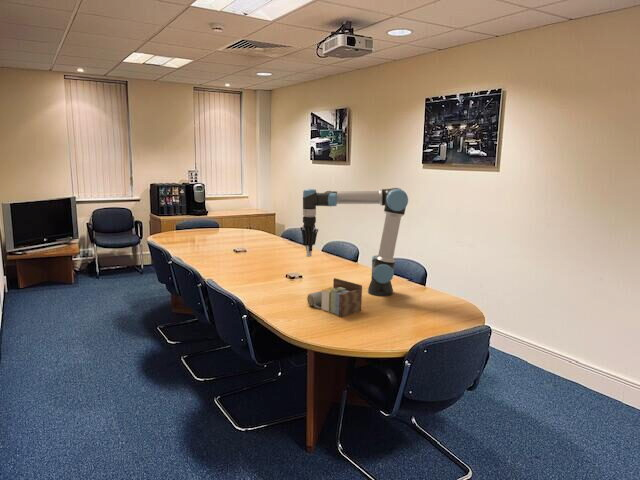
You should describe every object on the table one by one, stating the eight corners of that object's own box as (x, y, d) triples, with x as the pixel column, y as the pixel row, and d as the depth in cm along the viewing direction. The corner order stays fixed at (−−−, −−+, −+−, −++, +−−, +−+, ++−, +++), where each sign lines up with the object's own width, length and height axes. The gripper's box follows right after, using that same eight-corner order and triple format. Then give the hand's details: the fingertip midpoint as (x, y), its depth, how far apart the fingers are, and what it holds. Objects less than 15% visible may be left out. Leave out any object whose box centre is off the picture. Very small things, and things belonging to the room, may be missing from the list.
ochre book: (330, 306, 261) (331, 287, 259) (338, 308, 257) (339, 289, 256) (321, 309, 255) (321, 289, 253) (328, 311, 251) (329, 292, 250)
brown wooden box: (334, 302, 269) (335, 278, 266) (361, 310, 255) (362, 285, 252) (313, 308, 257) (313, 283, 255) (340, 317, 243) (341, 291, 241)
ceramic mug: (306, 304, 263) (306, 291, 262) (319, 302, 267) (319, 289, 266) (315, 310, 254) (315, 296, 253) (328, 308, 258) (328, 294, 256)
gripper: (296, 215, 273) (296, 255, 277) (312, 217, 264) (312, 259, 268) (306, 214, 278) (306, 253, 282) (322, 216, 269) (321, 257, 273)
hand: (309, 256), depth 275 cm, fingers closed
